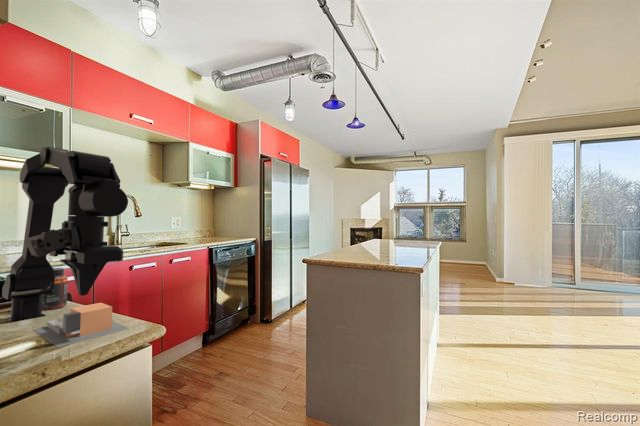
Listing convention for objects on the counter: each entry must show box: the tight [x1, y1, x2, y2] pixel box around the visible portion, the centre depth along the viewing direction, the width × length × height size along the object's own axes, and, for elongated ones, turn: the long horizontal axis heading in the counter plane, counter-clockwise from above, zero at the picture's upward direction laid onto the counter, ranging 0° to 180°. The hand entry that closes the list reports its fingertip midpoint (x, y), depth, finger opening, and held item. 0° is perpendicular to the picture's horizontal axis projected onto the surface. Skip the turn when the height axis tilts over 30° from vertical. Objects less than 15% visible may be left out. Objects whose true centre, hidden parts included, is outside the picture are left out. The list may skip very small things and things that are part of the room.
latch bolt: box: [54, 312, 81, 335], centre depth 64 cm, size 10×2×4 cm, turn 57°
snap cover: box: [65, 302, 113, 337], centre depth 68 cm, size 6×8×5 cm
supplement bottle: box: [42, 267, 68, 311], centre depth 88 cm, size 6×6×11 cm
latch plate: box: [32, 319, 130, 348], centre depth 69 cm, size 16×13×2 cm
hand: (83, 295), depth 59 cm, fingers closed
